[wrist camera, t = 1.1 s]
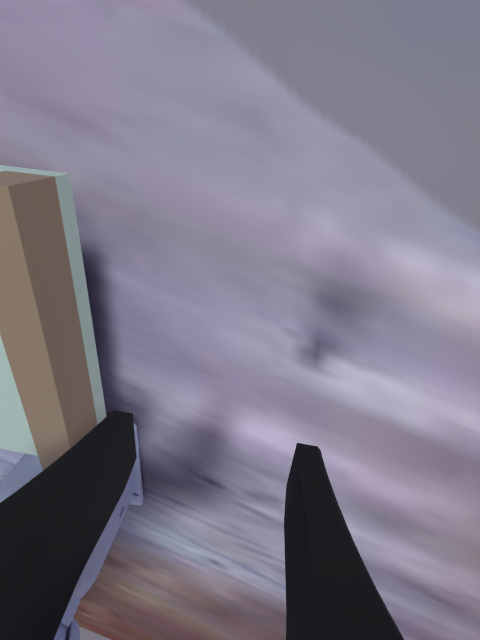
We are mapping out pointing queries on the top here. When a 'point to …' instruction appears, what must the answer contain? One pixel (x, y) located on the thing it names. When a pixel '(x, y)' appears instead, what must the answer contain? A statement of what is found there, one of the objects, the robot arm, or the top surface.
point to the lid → (44, 319)
